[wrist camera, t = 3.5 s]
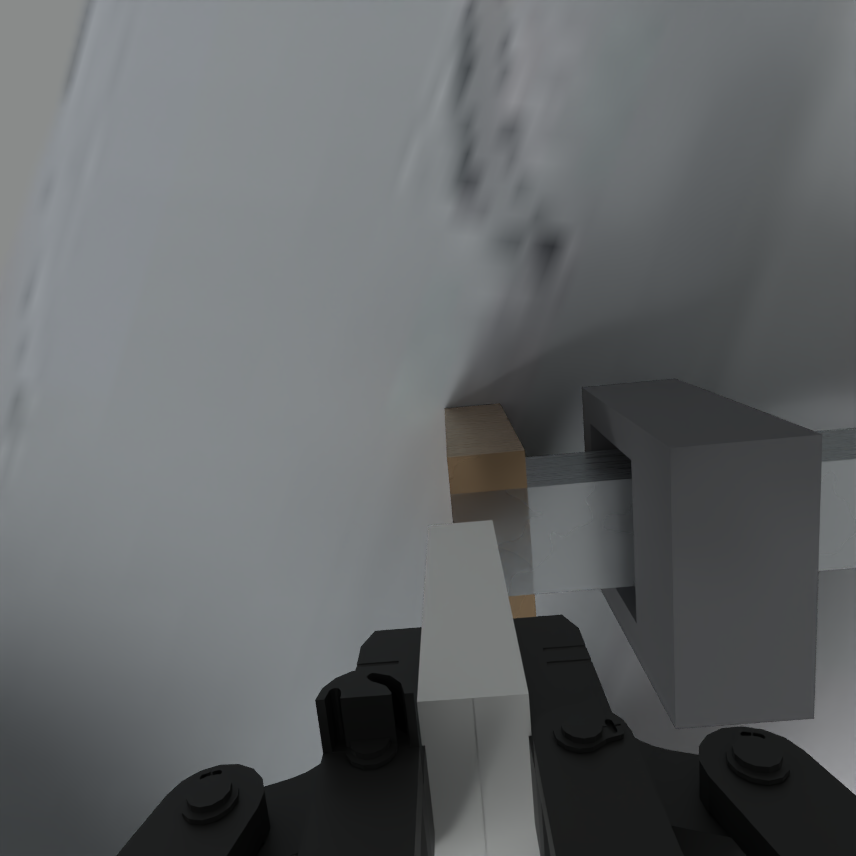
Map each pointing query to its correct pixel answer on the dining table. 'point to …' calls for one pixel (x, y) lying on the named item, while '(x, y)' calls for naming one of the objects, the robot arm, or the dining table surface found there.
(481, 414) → the grey long bar
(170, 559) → the dining table surface
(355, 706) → the robot arm
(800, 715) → the grey notched bracket
